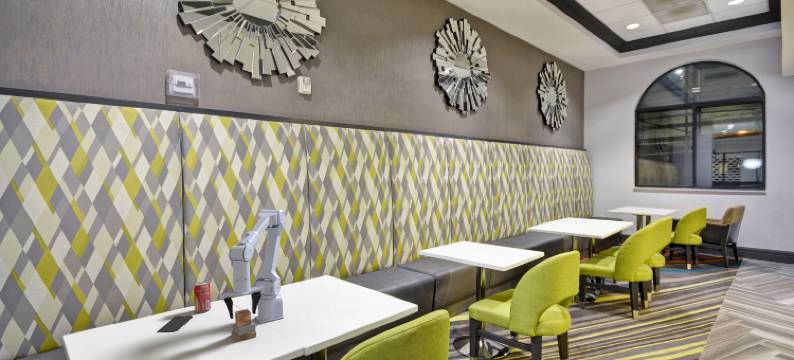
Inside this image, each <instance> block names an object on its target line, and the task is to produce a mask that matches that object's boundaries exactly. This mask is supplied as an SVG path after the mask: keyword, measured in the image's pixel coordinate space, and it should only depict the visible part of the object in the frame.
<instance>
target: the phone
mask: <svg viewBox="0 0 794 360" xmlns="http://www.w3.org/2000/svg"><path fill="white" fill-rule="evenodd" d="M193 318H194V316H193V315H176V316H174V317H173V318H172V319H170V320H169V321H168V322H167V323H165V324H164V325H163V326H161V328H160V329H158V330H157V333H158V332H162V333H175V332H178V331H180V329H182V328H183V327H184V326H185V325H186V324H187V323H188V322H189V320H190V319H191V320H192V319H193ZM191 320H190V321H191ZM183 325H184V326H183ZM182 326H183V327H182ZM181 327H182V328H181Z"/></svg>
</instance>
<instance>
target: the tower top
mask: <svg viewBox="0 0 794 360" xmlns="http://www.w3.org/2000/svg"><path fill="white" fill-rule="evenodd" d="M231 326H232V330H233V332H235V333H236V334H237V335H238V336H240V335H244V334H247V333H251V332H254V331H256V323H255V322H253V320H251V325H247V326H243V327H239V328H238V327H237V325H236V324H235V323H232V325H231ZM256 332H257V331H256Z"/></svg>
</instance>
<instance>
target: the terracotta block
mask: <svg viewBox="0 0 794 360" xmlns="http://www.w3.org/2000/svg"><path fill="white" fill-rule="evenodd" d="M251 314H252V311H251V310H249V309H248V308H244V309H240V310H235V311H234V324H236V325H237V327H238V328H239V327H243V326H247V325H251V321H252V315H251Z"/></svg>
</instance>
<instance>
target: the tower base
mask: <svg viewBox="0 0 794 360" xmlns="http://www.w3.org/2000/svg"><path fill="white" fill-rule="evenodd" d="M230 336H231V337H232V338H233V341H234V342H235V343H238V342H242V341H247V340H249V339H250V340H251V339H255V338H257V331H254V332H251V333H247V334H244V335H240V336H238V335H237V334H236V333H235V332H233V329H231V335H230Z"/></svg>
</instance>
